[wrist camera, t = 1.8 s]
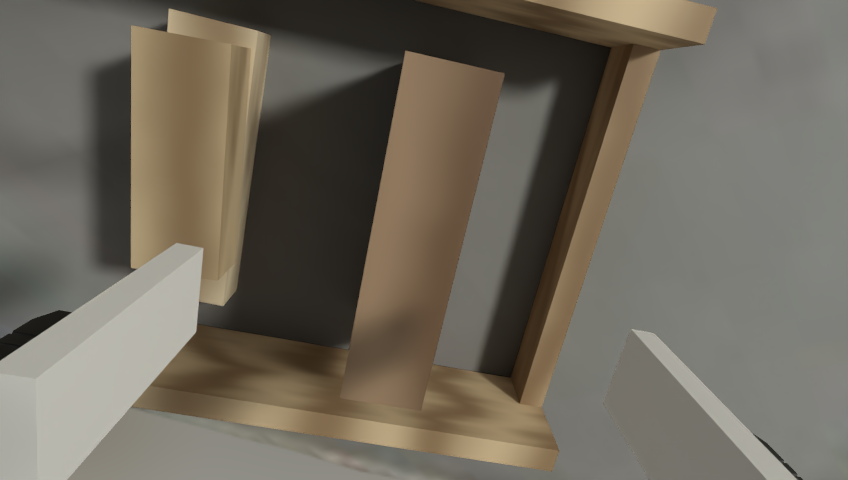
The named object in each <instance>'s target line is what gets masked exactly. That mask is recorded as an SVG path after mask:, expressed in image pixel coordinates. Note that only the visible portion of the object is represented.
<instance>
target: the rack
mask: <svg viewBox="0 0 848 480" xmlns="http://www.w3.org/2000/svg"><path fill="white" fill-rule="evenodd" d="M415 1H419V2H423V3H427V4H431V5H436V6H440V7H444V8H448V9H452V10H456V11H461V12H465V13H469V14H473V15H477V16H481V17H486V18H490V19H494V20H498V21H502V22H506V23H511V24H515V25H519V26H523V27H527V28H532V29H536V30H540V31H544V32H548V33H552V34H557V35H561V36H565V37H569V38H573V39H577V40H582V41H586V42H590V43H594V44H598V45H602V46H607V47H611V51H610V54H609V57H608V60H607V64H606V67H605V70H604V73H603V77H602V80H601V83H600V87H599V90H598V93H597V96H596V100H595V103H594V106H593V109H592V113H591V116H590V119H589V123H588V126H587V129H586V132H585V136H584V139H583V142H582V146H581V149H580V152H579V155H578V159H577V162H576V165H575V168H574V172H573V175H572V178H571V182H570V185H569V188H568V191H567V195H566V198H565V201H564V205H563V208H562V211H561V214H560V218H559V221H558V224H557V227H556V231H555V234H554V237H553V241H552V244H551V247H550V250H549V254H548V257H547V260H546V263H545V267H544V270H543V273H542V277H541V280H540V283H539V286H538V290H537V293H536V296H535V300H534V303H533V306H532V309H531V313H530V316H529V319H528V322H527V326H526V329H525V332H524V336H523V339H522V342H521V345H520V349H519V352H518V355H517V358H516V362H515V365H514V368H513V372H512V375H511V378H509V377H503V376H497V375H491V374H485V373H480V372H474V371H468V370H462V369H456V368H450V367H444V366H439V365H432V369H431V373H430V377H429V381H428V385H427V389H426V393H425V397H424V401H423V405H422V409H421V411H417V410H411V409H405V408H399V407H392V406H386V405H380V404H374V403H367V402H361V401H355V400H349V399H342V398H340V394H341V389H342V384H343V378H344V373H345V368H346V362H347V357H348V352H349V350H345V349H339V348H333V347H327V346H322V345H316V344H310V343H304V342H298V341H292V340H286V339H281V338H275V337H269V336H263V335H257V334H251V333H246V332H240V331H234V330H228V329H222V328H216V327H210V326H205V325H199V324H197V329H196V333H195V334H194V335H193V336H192V337H191V339H190V340H189V341H188V342H187V343H186V344H185V345H184V347H183V348H182V349H181V350H180V351H179V352H178V353H177V355H176V356H175V357H174V358H173V359H172V360H171V361H170V363H169V364H168V365H167V366H166V367H165V368H164V369H163V371H162V372H161V373H160V374H159V375H158V376H157V377H156V379H155V380H154V381H153V382H152V383H151V384H150V385H149V387H148V388H147V389H146V390H145V391H144V392H143V393H142V395H141V396H140V397H139V398H138V399H137V400H136V401H135V403H134V404H133V405H132V406H131V407H137V408H143V409H150V410H156V411H163V412H169V413H176V414H182V415H189V416H195V417H202V418H208V419H215V420H221V421H228V422H234V423H241V424H247V425H254V426H260V427H267V428H273V429H280V430H286V431H293V432H299V433H306V434H312V435H319V436H325V437H332V438H338V439H345V440H351V441H358V442H364V443H371V444H377V445H384V446H390V447H397V448H403V449H410V450H416V451H423V452H429V453H436V454H442V455H449V456H455V457H462V458H468V459H475V460H481V461H488V462H494V463H501V464H507V465H514V466H520V467H527V468H533V469H540V470H546V471H552V470H553V467H554V464H555V462H556V459H557V456H558V453H559V449H558V446H557V444H556V441H555V439H554V437H553V434H552V432H551V429H550V427H549V424H548V422H547V420H546V417H545V415H544V412H543V410H542V405H543V402H544V399H545V396H546V393H547V390H548V387H549V384H550V381H551V378H552V375H553V372H554V369H555V366H556V363H557V360H558V357H559V354H560V351H561V348H562V345H563V342H564V339H565V336H566V333H567V330H568V327H569V324H570V321H571V318H572V315H573V312H574V309H575V306H576V303H577V300H578V297H579V294H580V291H581V288H582V285H583V282H584V279H585V276H586V273H587V270H588V267H589V264H590V261H591V258H592V255H593V252H594V249H595V246H596V243H597V240H598V237H599V234H600V231H601V228H602V225H603V222H604V219H605V216H606V213H607V210H608V207H609V204H610V201H611V198H612V195H613V192H614V189H615V186H616V183H617V180H618V177H619V174H620V171H621V168H622V165H623V162H624V159H625V156H626V153H627V150H628V147H629V144H630V141H631V138H632V135H633V132H634V129H635V126H636V123H637V120H638V117H639V114H640V111H641V108H642V105H643V102H644V99H645V96H646V93H647V90H648V87H649V84H650V81H651V78H652V75H653V72H654V69H655V66H656V63H657V60H658V57H659V54H660V51H661V50H665V49H673V48H680V47H688V46H695V45H703V44H705V42H706V39H707V36H708V33H709V31H710V28H711V25H712V22H713V19H714V17H715V14H716V11H717V8H714V7H710V6H706V5H702V4H698V3H694V2H690V1H687V0H415Z"/></svg>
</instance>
